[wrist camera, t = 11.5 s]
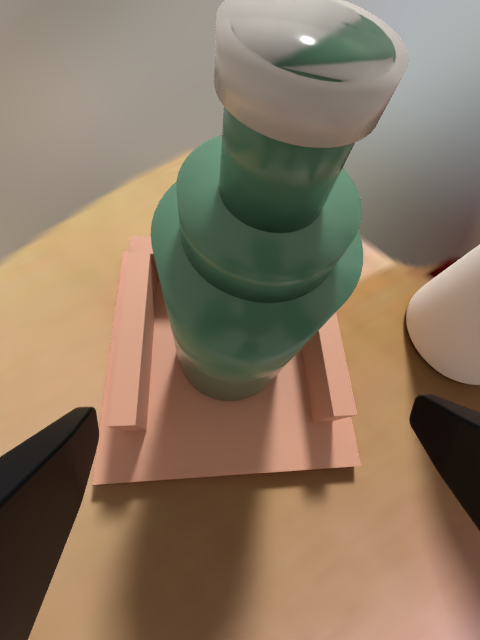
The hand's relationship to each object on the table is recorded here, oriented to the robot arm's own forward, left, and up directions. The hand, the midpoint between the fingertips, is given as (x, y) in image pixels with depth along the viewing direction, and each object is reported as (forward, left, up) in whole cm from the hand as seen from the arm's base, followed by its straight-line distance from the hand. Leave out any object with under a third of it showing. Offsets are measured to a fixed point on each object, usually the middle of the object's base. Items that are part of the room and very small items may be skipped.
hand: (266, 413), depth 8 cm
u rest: (+4, +2, -10) cm, 11 cm away
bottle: (+4, +2, -9) cm, 10 cm away
